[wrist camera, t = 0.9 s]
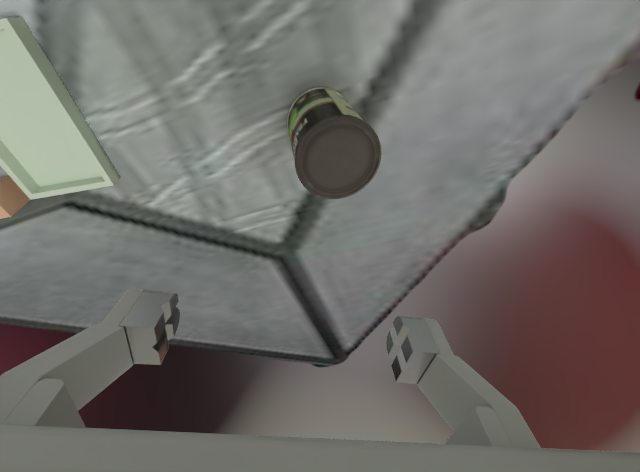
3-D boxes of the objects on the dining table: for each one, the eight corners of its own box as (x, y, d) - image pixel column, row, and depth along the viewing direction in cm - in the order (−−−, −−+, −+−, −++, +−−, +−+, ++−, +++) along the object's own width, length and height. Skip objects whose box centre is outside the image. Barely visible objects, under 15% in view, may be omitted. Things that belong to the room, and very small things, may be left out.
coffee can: (283, 152, 47) (290, 197, 36) (290, 81, 41) (301, 110, 30) (344, 158, 49) (368, 202, 38) (359, 92, 43) (393, 122, 32)
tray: (-92, 33, 32) (-115, 35, 30) (22, 17, 32) (6, 18, 30) (40, 190, 44) (30, 199, 42) (120, 177, 45) (113, 185, 43)
